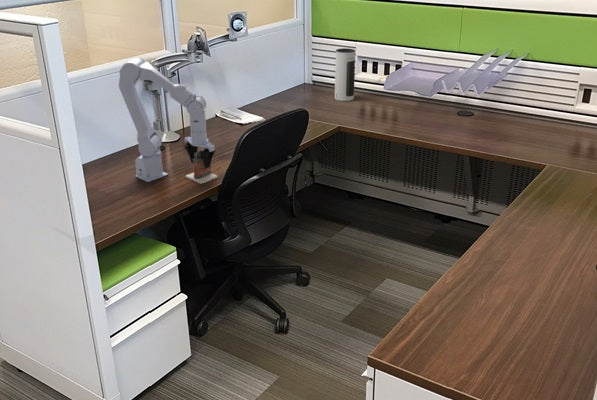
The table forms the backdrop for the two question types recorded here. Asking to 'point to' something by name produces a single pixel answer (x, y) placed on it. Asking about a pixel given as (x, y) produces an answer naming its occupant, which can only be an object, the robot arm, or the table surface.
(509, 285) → the table surface
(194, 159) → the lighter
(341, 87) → the speaker
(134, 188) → the table surface
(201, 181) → the tile
